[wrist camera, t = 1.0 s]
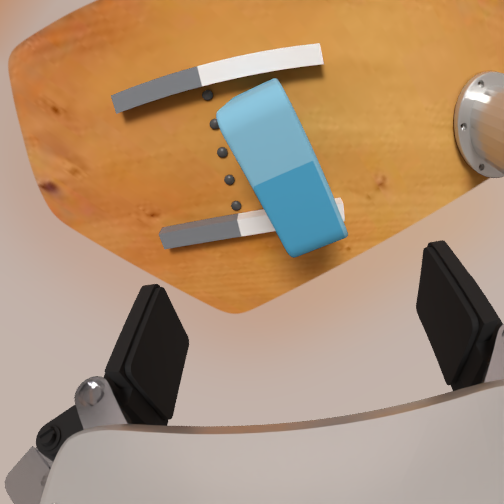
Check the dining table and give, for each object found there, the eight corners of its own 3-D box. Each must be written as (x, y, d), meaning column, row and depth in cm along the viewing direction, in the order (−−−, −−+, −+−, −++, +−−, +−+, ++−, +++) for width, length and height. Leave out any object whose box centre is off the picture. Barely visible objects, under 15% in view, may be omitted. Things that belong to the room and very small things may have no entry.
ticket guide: (317, 44, 24) (319, 43, 23) (341, 214, 34) (344, 220, 32) (117, 93, 27) (110, 95, 26) (168, 242, 37) (164, 249, 35)
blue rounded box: (232, 97, 28) (210, 115, 18) (276, 76, 26) (280, 82, 16) (287, 199, 33) (294, 267, 23) (326, 183, 32) (352, 245, 22)
